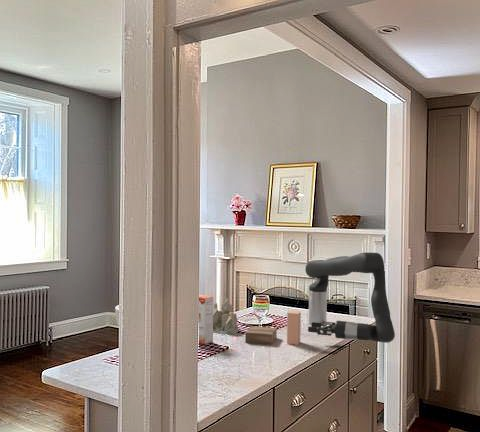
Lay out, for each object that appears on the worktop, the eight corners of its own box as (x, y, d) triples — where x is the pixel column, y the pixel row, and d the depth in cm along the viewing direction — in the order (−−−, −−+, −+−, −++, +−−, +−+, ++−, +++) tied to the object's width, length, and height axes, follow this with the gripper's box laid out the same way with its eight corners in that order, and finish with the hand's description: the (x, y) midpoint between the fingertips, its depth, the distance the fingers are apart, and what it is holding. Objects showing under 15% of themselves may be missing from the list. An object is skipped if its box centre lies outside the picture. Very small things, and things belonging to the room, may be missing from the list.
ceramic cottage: (205, 325, 252) (206, 296, 250) (237, 326, 253) (239, 298, 251) (204, 335, 236) (206, 305, 235) (239, 337, 237) (240, 306, 236)
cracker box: (182, 339, 227) (182, 294, 226) (191, 336, 231) (191, 292, 231) (204, 345, 218) (204, 298, 217) (213, 342, 223) (213, 296, 222)
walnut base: (251, 336, 234) (251, 326, 234) (276, 338, 231) (276, 328, 231) (245, 343, 222) (245, 332, 222) (271, 345, 219) (271, 334, 219)
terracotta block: (289, 340, 226) (289, 310, 226) (300, 342, 224) (300, 311, 224) (287, 343, 221) (287, 312, 221) (298, 345, 220) (298, 313, 219)
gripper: (348, 318, 222) (312, 315, 227) (345, 325, 208) (307, 322, 213) (348, 334, 222) (312, 331, 227) (344, 343, 209) (306, 339, 214)
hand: (310, 326), depth 220 cm, fingers open, 8 cm apart
